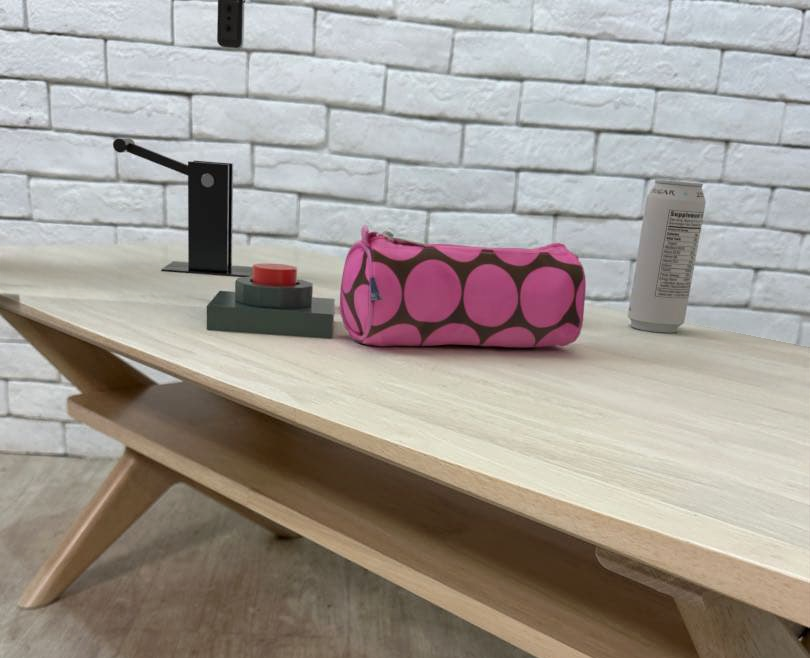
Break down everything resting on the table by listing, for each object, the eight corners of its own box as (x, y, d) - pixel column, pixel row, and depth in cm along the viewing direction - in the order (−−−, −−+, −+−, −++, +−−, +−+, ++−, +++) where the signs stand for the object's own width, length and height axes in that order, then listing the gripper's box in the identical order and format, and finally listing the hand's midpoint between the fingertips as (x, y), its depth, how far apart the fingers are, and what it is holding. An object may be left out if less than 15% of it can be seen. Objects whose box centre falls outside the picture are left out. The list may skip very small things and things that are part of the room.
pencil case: (365, 358, 82) (373, 231, 78) (331, 334, 90) (337, 219, 86) (591, 358, 89) (608, 242, 85) (540, 336, 98) (554, 230, 94)
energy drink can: (660, 323, 112) (684, 181, 106) (694, 333, 106) (721, 185, 101) (615, 322, 109) (637, 178, 104) (647, 333, 104) (672, 182, 99)
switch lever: (110, 154, 109) (115, 131, 108) (120, 153, 114) (125, 132, 113) (216, 195, 111) (223, 174, 110) (222, 193, 116) (228, 172, 115)
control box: (206, 330, 87) (206, 284, 86) (219, 313, 96) (219, 271, 94) (332, 339, 88) (334, 293, 87) (334, 321, 96) (336, 279, 95)
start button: (250, 287, 88) (250, 267, 88) (254, 281, 92) (254, 262, 92) (295, 291, 89) (296, 270, 88) (297, 284, 92) (298, 265, 92)
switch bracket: (161, 280, 113) (159, 159, 108) (173, 271, 120) (172, 158, 115) (250, 286, 114) (252, 167, 109) (256, 277, 121) (258, 165, 116)
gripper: (202, -163, 90) (199, 49, 97) (176, -209, 78) (176, 37, 84) (285, -153, 91) (277, 57, 97) (273, -198, 79) (264, 46, 85)
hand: (230, 47), depth 91 cm, fingers closed
